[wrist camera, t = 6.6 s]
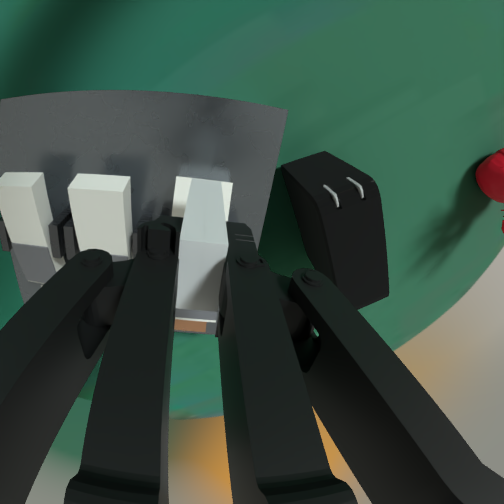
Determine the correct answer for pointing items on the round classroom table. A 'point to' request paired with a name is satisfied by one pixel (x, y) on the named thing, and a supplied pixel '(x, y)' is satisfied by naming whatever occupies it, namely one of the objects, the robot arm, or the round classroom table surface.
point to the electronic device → (340, 225)
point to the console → (140, 156)
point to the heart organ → (492, 177)
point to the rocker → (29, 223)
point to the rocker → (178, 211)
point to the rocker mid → (103, 213)
